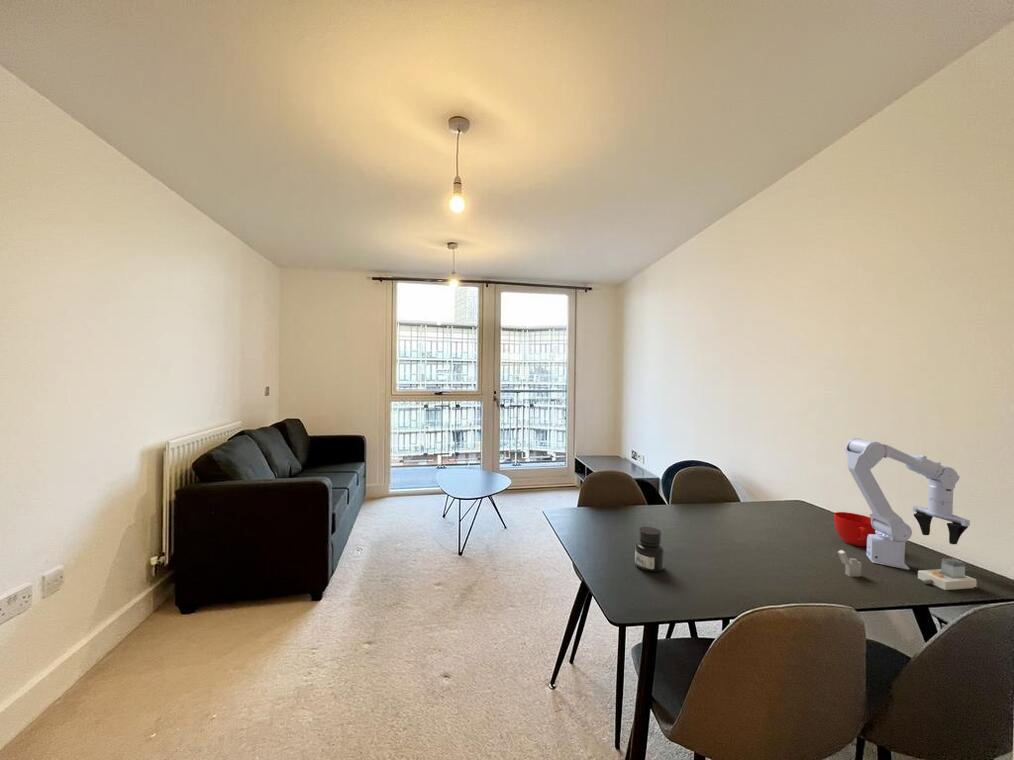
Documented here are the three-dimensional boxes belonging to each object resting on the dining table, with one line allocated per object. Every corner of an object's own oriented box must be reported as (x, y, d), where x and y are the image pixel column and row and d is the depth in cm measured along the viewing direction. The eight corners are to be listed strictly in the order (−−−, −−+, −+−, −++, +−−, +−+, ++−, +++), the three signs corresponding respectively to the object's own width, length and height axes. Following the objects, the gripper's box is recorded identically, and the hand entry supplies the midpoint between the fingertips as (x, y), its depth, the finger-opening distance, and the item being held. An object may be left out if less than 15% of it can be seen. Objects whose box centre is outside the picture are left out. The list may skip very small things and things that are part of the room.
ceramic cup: (841, 549, 148) (842, 522, 148) (829, 533, 163) (830, 509, 163) (887, 557, 142) (887, 529, 142) (870, 540, 157) (871, 515, 157)
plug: (952, 585, 123) (953, 563, 123) (940, 580, 126) (941, 558, 126) (964, 584, 124) (965, 562, 124) (952, 579, 127) (953, 558, 126)
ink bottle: (628, 561, 133) (629, 526, 133) (649, 558, 136) (650, 523, 136) (648, 575, 124) (649, 537, 124) (670, 571, 127) (671, 534, 127)
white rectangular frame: (938, 590, 119) (939, 580, 119) (911, 578, 126) (912, 569, 126) (976, 587, 122) (976, 577, 122) (947, 576, 129) (948, 566, 129)
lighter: (856, 573, 129) (856, 549, 129) (861, 576, 127) (862, 551, 127) (836, 574, 128) (837, 549, 128) (841, 576, 126) (842, 552, 126)
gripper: (977, 506, 129) (976, 547, 129) (924, 493, 143) (923, 530, 144) (960, 507, 128) (959, 548, 128) (908, 494, 142) (907, 531, 142)
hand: (939, 539), depth 136 cm, fingers open, 7 cm apart
